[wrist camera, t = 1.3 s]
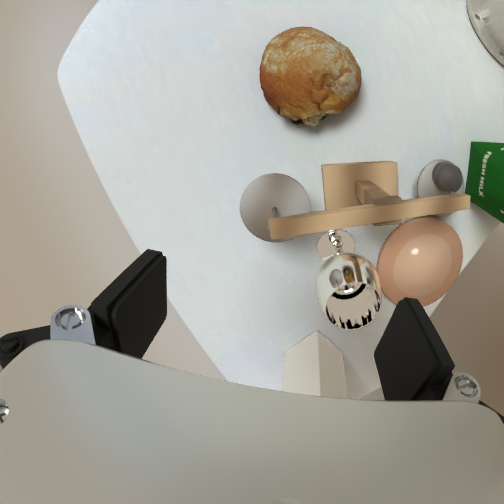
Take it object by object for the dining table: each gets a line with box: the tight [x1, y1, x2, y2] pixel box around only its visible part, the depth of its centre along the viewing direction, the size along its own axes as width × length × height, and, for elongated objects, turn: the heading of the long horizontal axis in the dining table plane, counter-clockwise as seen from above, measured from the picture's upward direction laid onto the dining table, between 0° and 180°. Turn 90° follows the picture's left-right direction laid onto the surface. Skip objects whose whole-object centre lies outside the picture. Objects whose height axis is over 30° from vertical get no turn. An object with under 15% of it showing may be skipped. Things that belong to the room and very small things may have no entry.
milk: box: [282, 330, 348, 399], centre depth 29 cm, size 6×6×22 cm
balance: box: [240, 160, 470, 242], centre depth 23 cm, size 24×6×12 cm, turn 98°
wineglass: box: [316, 229, 382, 330], centre depth 27 cm, size 6×6×12 cm
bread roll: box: [260, 27, 361, 127], centre depth 23 cm, size 10×10×8 cm
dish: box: [377, 216, 463, 307], centre depth 31 cm, size 12×12×1 cm
